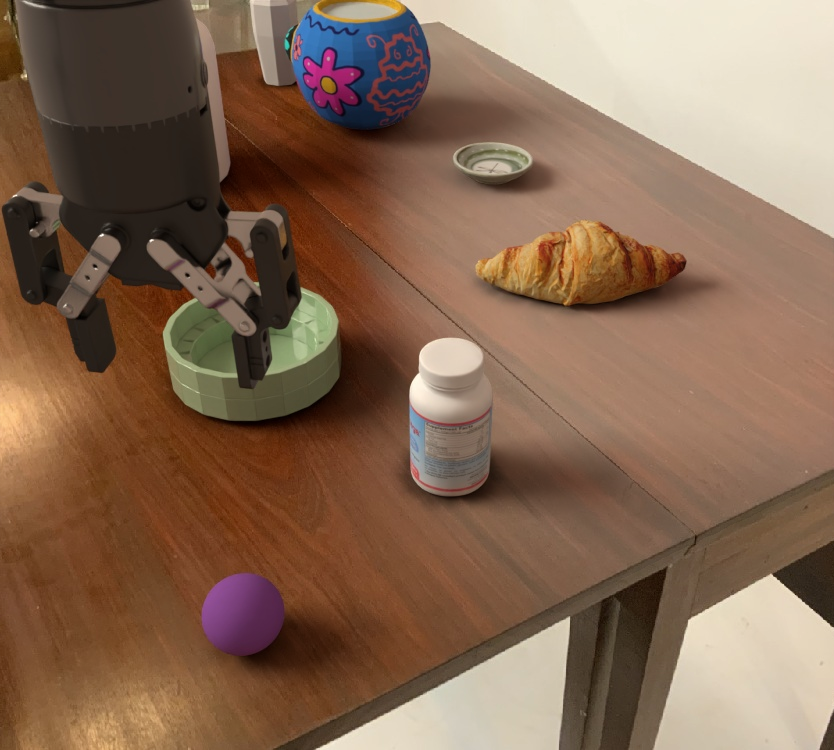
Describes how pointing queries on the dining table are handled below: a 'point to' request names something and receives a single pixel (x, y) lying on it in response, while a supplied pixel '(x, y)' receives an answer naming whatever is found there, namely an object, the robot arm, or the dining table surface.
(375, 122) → the ceramic pot
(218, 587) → the ball
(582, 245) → the croissant
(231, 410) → the bowl
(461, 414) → the pill bottle
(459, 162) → the saucer
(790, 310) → the dining table surface
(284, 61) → the faceted bottle
